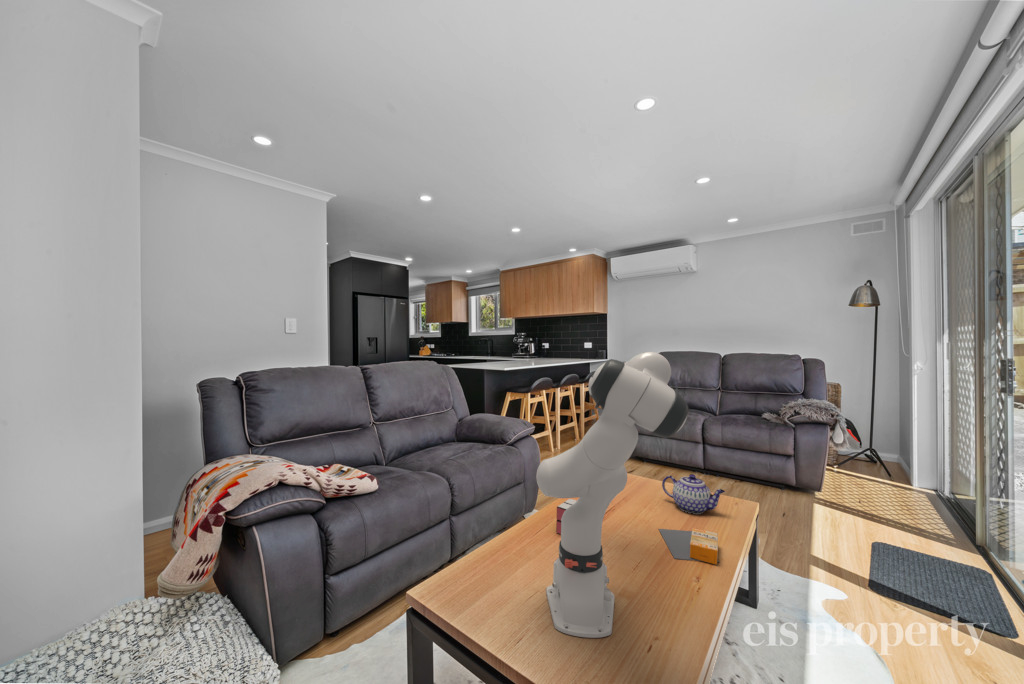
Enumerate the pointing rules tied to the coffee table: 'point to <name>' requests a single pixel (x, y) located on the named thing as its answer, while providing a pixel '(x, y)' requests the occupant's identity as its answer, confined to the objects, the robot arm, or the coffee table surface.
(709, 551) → the supplement box
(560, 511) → the puzzle cube
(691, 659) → the coffee table surface
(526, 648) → the coffee table surface
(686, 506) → the teapot
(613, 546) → the coffee table surface
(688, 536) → the mat
